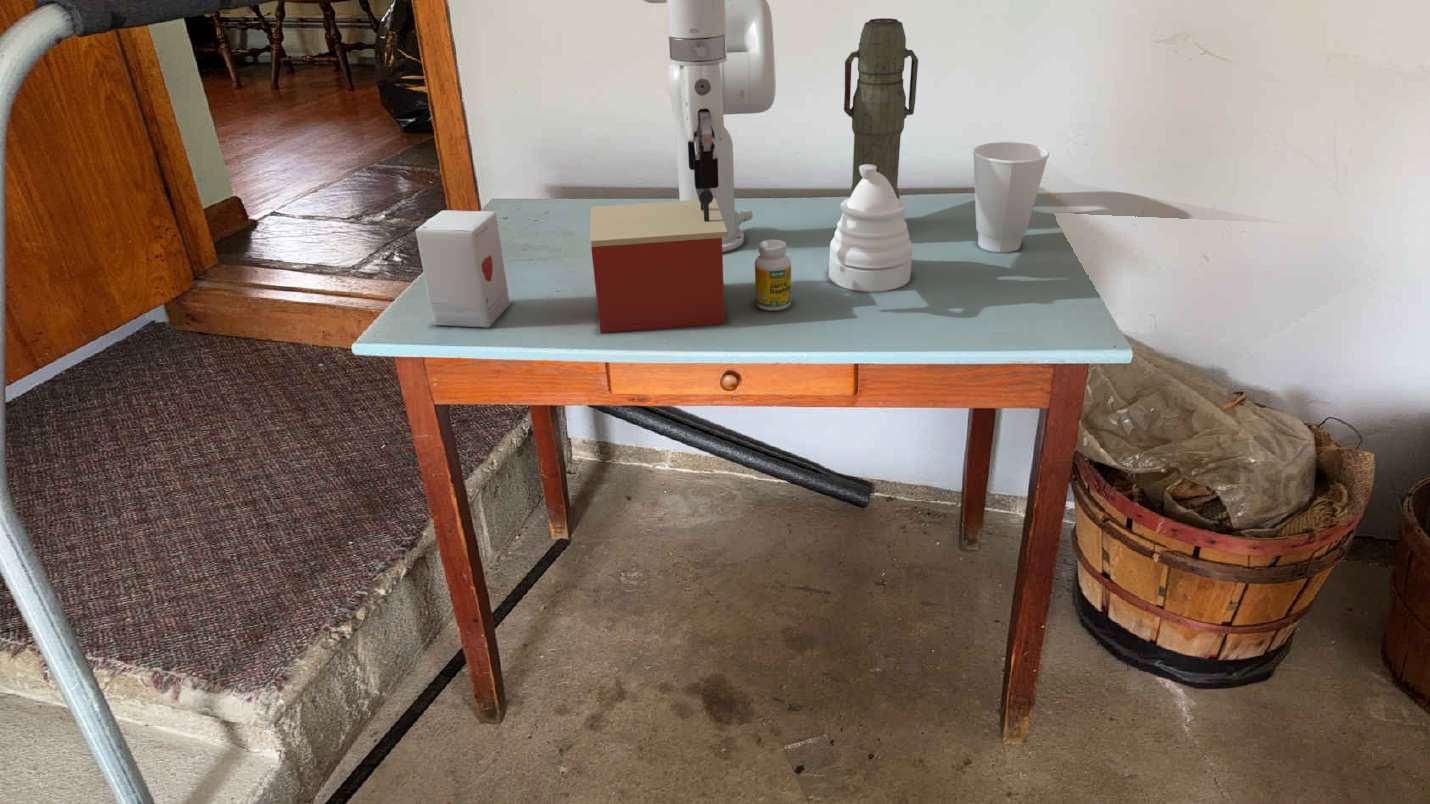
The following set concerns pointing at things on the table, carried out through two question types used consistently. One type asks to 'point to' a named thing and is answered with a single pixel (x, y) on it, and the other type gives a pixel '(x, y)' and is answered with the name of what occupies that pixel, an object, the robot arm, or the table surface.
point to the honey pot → (871, 238)
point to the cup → (1006, 192)
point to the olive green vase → (879, 98)
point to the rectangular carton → (463, 268)
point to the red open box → (659, 285)
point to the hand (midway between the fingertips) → (703, 178)
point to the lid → (658, 222)
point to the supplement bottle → (773, 276)
